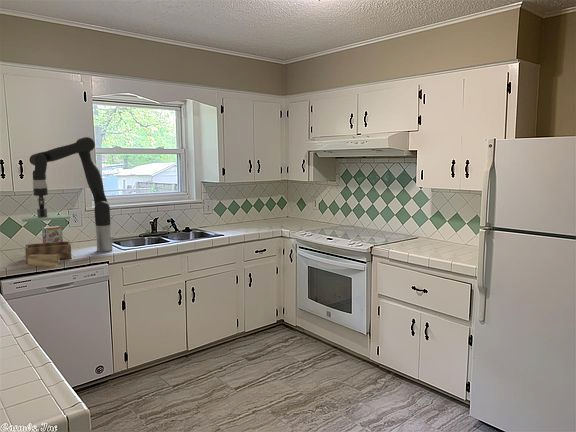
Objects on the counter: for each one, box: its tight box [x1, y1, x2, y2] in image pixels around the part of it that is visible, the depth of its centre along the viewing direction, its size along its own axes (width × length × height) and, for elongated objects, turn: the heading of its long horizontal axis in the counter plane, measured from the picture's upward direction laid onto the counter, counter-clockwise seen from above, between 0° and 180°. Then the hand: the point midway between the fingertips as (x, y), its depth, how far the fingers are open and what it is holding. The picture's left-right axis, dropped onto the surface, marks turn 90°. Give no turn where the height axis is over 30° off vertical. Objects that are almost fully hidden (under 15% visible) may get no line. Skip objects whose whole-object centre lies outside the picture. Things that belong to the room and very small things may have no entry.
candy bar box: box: [41, 225, 64, 243], centre depth 297 cm, size 11×5×16 cm, turn 141°
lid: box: [21, 208, 71, 223], centre depth 272 cm, size 25×15×6 cm, turn 119°
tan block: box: [27, 254, 61, 267], centre depth 260 cm, size 4×16×6 cm, turn 93°
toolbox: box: [24, 240, 72, 265], centre depth 275 cm, size 24×14×9 cm, turn 119°
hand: (42, 215), depth 271 cm, fingers closed on lid, 2 cm apart
